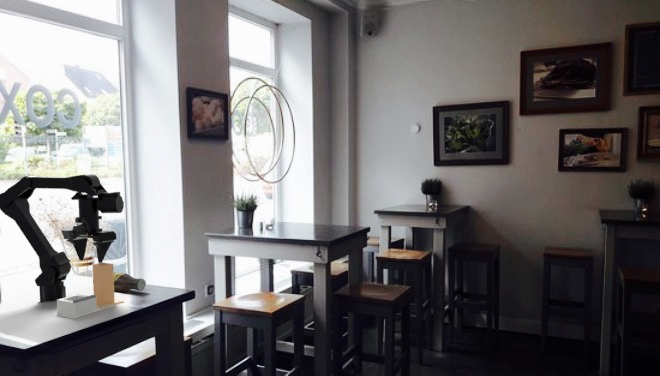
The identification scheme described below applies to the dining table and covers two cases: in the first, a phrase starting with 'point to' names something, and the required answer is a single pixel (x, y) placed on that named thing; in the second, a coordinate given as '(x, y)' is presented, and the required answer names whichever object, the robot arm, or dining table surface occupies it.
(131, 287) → the sauce bottle
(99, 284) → the tan rectangular block
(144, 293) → the dining table surface
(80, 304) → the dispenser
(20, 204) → the robot arm
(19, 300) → the dining table surface
